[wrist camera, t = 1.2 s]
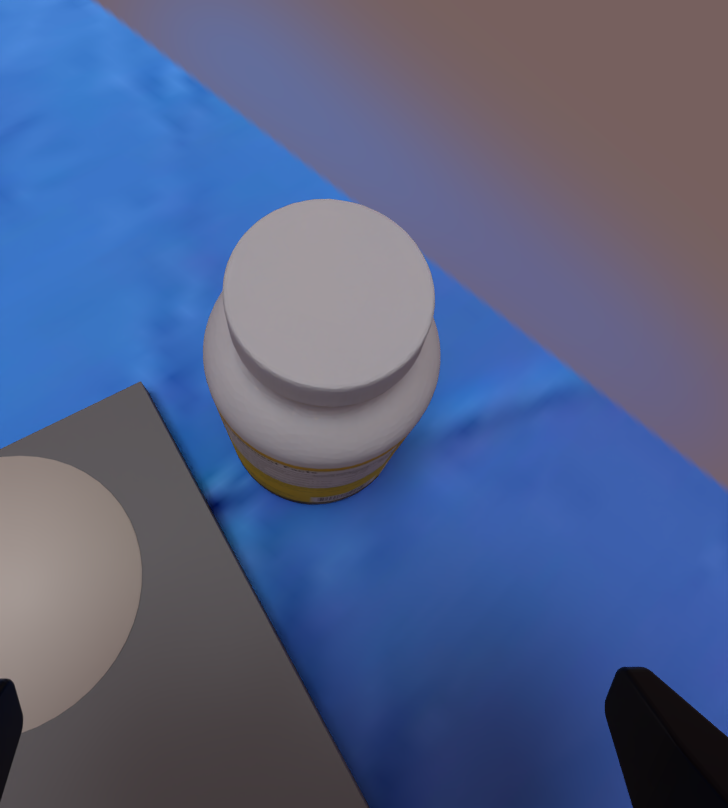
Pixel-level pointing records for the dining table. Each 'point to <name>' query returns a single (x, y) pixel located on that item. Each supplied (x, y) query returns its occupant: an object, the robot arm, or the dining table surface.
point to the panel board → (142, 634)
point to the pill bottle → (322, 348)
